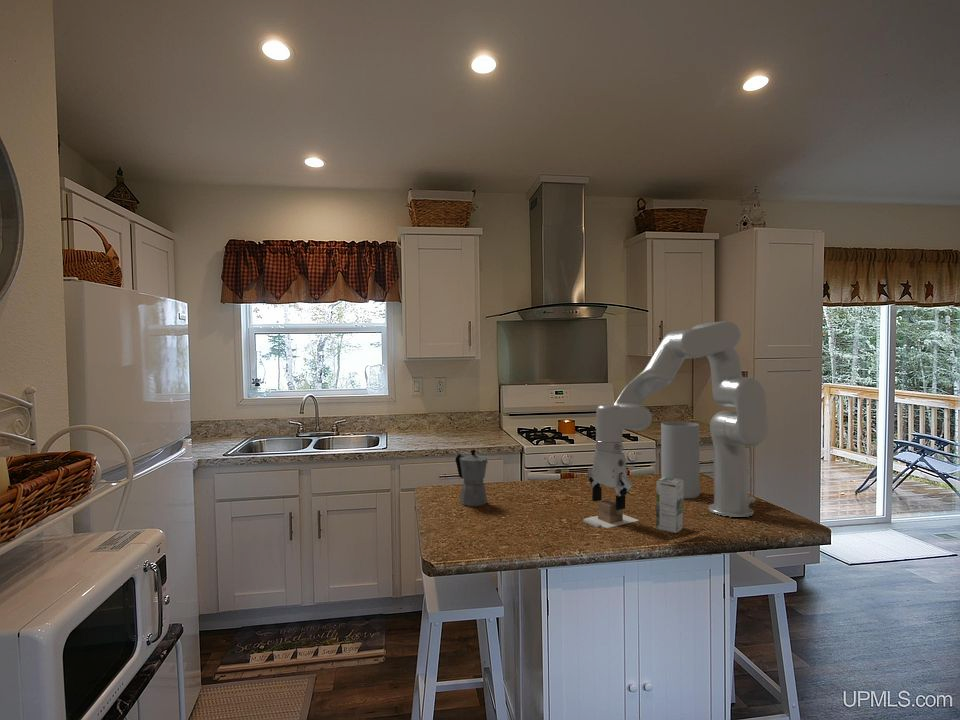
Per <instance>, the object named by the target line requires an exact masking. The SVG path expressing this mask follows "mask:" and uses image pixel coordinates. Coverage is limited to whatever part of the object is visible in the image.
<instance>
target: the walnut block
mask: <svg viewBox="0 0 960 720" xmlns="http://www.w3.org/2000/svg"><path fill="white" fill-rule="evenodd" d="M623 510H624V509H621V510H616V500H612V499H606V500H600V501H597V516H598V519H600V520H602V521H605V522H607V523H615V522H619V521H623V515H624V513H623Z"/></svg>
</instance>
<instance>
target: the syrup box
mask: <svg viewBox="0 0 960 720" xmlns="http://www.w3.org/2000/svg"><path fill="white" fill-rule="evenodd" d="M683 482H684V481H683V480H681V479H677V478H672V477H663V478H662V477H661V478H659V479H657V480H656V489H655V490H656V491H655V492H656V494H655V495H656V498H655V499H656V500H655V501H656V503H655V505H656V507H655V508H656V510H655V515H656V516H655V519H656V520H655V521H656V522H655V529H656V530H659V531H664V532H669V533H675V534H677V533H678V532H680V531H682V529H684V499H683Z"/></svg>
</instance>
